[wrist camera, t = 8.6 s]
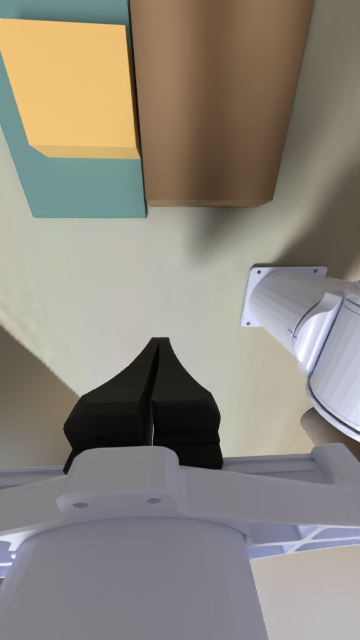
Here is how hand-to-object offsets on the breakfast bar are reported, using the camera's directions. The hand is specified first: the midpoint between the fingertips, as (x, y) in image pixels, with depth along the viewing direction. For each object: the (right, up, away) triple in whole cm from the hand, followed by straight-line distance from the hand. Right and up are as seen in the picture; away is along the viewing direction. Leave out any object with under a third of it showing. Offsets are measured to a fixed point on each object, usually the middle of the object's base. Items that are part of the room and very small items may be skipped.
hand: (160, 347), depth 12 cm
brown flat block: (+4, +19, +1) cm, 20 cm away
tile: (-6, +19, 0) cm, 20 cm away
